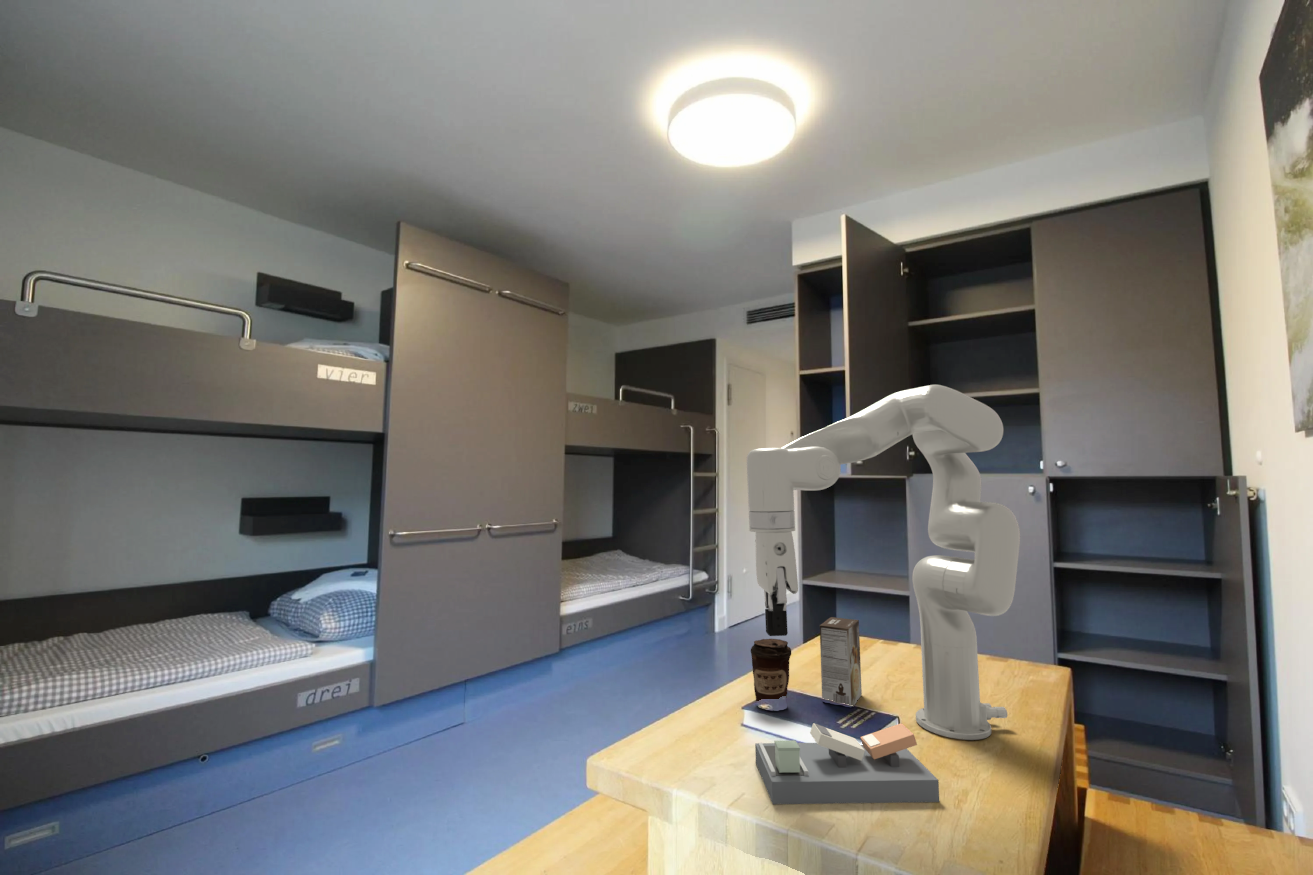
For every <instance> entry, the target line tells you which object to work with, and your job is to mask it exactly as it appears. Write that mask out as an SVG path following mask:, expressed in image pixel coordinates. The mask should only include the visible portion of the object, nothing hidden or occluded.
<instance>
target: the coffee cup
mask: <svg viewBox="0 0 1313 875" xmlns="http://www.w3.org/2000/svg"><path fill="white" fill-rule="evenodd" d="M788 644H789V642H788V641H787V640H782V639H777V638H762V639H758V640H754V641H753V645H752V646H751V648H750V654H751V666H752V674H753V686H754V696H755V702H756V701H759V700H761V699H779V698H780V697H782V696H786V697H787V695H788V686H789V683H790V682H789V680H790V659H791V656H792V649H791V647H790V646H788Z"/></svg>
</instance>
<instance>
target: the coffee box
mask: <svg viewBox="0 0 1313 875" xmlns="http://www.w3.org/2000/svg"><path fill="white" fill-rule="evenodd" d="M819 638H820V639H819V643H820V644H819V646H820V672H821V675H820V677H821V699H822V698H824V699H829V700H833V701H835V702H838V703H845V704H849V705H854V706H855V705H856V703H858V701H859V699H860V698H861V696H862V694H863V692H862V672H861V671H862V670H861V668H862V667H861V664H862V663H861V645H860V643H861V642H860V640H861V639H860V620H859V619H854V618H852V619H851V618H842V617H835V616H831V617H829V618H827V619H826V620H825V621H824V622H822V623H821V624H819ZM857 700H858V701H857Z"/></svg>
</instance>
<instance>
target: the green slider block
mask: <svg viewBox="0 0 1313 875" xmlns="http://www.w3.org/2000/svg"><path fill="white" fill-rule="evenodd" d="M773 743H775V760H776V766H777V768H778V771H779V773H783V772H800V757H799V751H800V747H799V745H798V744H797V743H798V742H797V741H796V740H774V742H773Z"/></svg>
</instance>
